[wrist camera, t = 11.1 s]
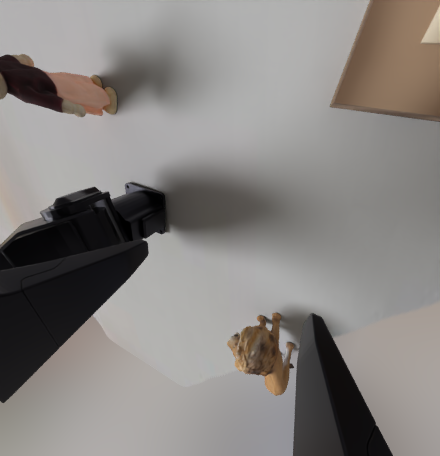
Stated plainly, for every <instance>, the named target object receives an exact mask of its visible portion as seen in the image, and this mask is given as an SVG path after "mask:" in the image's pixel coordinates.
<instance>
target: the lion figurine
mask: <svg viewBox="0 0 440 456" xmlns="http://www.w3.org/2000/svg"><path fill="white" fill-rule="evenodd" d="M272 315H273V317H272V322H273V326H272V330H271V331H269V330H268V329H267V328H266V327H265V326H266V319H265V318H264V317H263V316H261V315H259V316H258V317H257V320H258V321H259V322H260V325H259V326H254V327H251V326H249V327H246V328H244V329H243V330H242V332H241V335H240V334H239V333H237V332H236V333H235V335H234V336H232V337H231V338H230V339H229V341H228V342H227V345H228V346H229V347H230V348H231V350H232V351H233V355H234V357H235V358H236V361H235V367H237V369H238V370H239V371H243V372H244V373H245V374H256V375H263V376H265V385H266V387H267V389H268V390H269V391H270V392H271V393H273V394H274V395H276V396H277V395H281V394H283V393H284V392H285V390H286V388H287V385H288V380H289V368H294V366H293V365H292V364H290V363H289V362H290V358H291V352H292V349H293V348H294V345H293V344H292V343H290V342H287V343H286V354H285V361H284V362H283V361H282V356H281V352H280V350H279V323H280V319H281V315H280V314H278V313H273V314H272Z"/></svg>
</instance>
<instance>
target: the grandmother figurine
mask: <svg viewBox="0 0 440 456" xmlns="http://www.w3.org/2000/svg"><path fill="white" fill-rule="evenodd" d="M7 93H9V94H12V95H13V96H15V97H17V98H19V99H20V100H22V101H24V102H26V103H31V104H35V105H38V106H42V107H45V108H49V109H52V110H54V111H57V112H62V113H68V114H75V115H76V116H78V117H84V116H85V114H86V113H88V114H93V115H99V116H102V115H103V112H102V109H103V110H105V111H106V112H107V113H109V114H115V113H116V110H117V95H116V92H115V91H114V89H112V88H111V87H106V88H105V89H104V90H103V89H102V83H101V80H100V79H99V78H98V77H97V76H96V75H93V76H91V77H90V78H89V77H87V76H82V75H76V74H70V73H64V72H60V73H48V72H45V71H42V70H40V69H38V68H36V67H34V63H33V61H32V59H31V58H30V57H29V56H27V55H25V54H21V55H19V56H18V55H4V56H2V57H0V99H3V98H4V97H5V96H6V94H7Z"/></svg>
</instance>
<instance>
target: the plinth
mask: <svg viewBox="0 0 440 456" xmlns="http://www.w3.org/2000/svg"><path fill="white" fill-rule="evenodd" d="M330 107H333V108H341V109H348V110H356V111H363V112H371V113H378V114H386V115H393V116H401V117H408V118H416V119H423V120H431V121H438V122H440V0H370V2H369V4H368V7H367V10H366V12H365V15H364V18H363V20H362V23H361V25H360V28H359V31H358V33H357V36H356V39H355V41H354V44H353V46H352V49H351V52H350V54H349V57H348V60H347V62H346V65H345V68H344V70H343V73H342V75H341V78H340V81H339V83H338V86H337V89H336V91H335V94H334V96H333V99H332V102H331V104H330Z"/></svg>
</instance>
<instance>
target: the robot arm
mask: <svg viewBox="0 0 440 456" xmlns="http://www.w3.org/2000/svg"><path fill="white" fill-rule="evenodd" d="M125 189H126V194H125V195H122V196H120V197H117V198H114V199H112V200H111V198H110V194H109V192H101V191H99V190H98V189H97V188H96V187H91V188H88V189H84V190H81V191H77V192H74V193H71V194H68V195H65V196H62V197H59V198H57V199H56V200H55V202H54V204H53V205H51V206H49V207H48V208H47V209H45V210H43V211H41V212H40V214H41V215H42V218H39V219H36V220H33V221H29V222H26V223H24V224H22V225H20V226H19V227H18V228H17V229H16V230H15V231H14V232H13V233H12V234H11V235H10V236H9V237H8V238H7V239H6V240H5V241H4V242H3V243H2V244H1V245H0V401H1V402H2V403H4V402H5V401H6V400H8V399H9V398H10V397H11V396H12V395H13V394H14V393H15V392H16V391H17V390H18V389H19V388H20V387H21V386H22V385H23V384H24V383H25V382H26V381H27V380H28V379H29V378H30V377H31V376H32V375H33V374H34V373H35V372H36V371H37V370H38V369H39V368H40V367H41V366H42V365H43V364H44V363H45V362H46V361H47V360H48V359H49V358H50V357H51V356H52V355H53V354H54V353H55V352H56V351H57V350H58V349H59V347H61V346H62V345H63V344H64V343H65V342H66V341H67V340H68V339H69V338H70V337H71V336H72V335H73V334H74V333H75V332H76V331H77V330H78V329H79V328H80V327H81V326H82V325H83V324H84V323H85V322H86V321H87V320H88V319H89V318H90V317H91V316H92V315H93V314H94V313H95V312H96V311H97V310H98V309H99V308H100V307H101V306H102V305H103V304H104V303H105V302H106V301H107V300H108V299H109V298H110V297H111V296H112V295H113V294H114V293H115V292H116V291H117V290H118V289H119V288H120V287H121V286H122V285H123V284H124V283H125V282H126V281H127V280H128V279H129V278H130V277H131V275H132V274H133V273H134V272H135V271H136V269H137V268H138V267H139V266H140V265H141V263H142V262H143V261H144V260H145V258H146V257H147V256H148V243H147V242H146V241H144V240H142V239H143V238H145V239H146V238H148V237H149V236H150V235H152V234H153V233H155V232H157V233H160V234H164V233H165V196H164V194H163V193H160V192H157V191H154V190H151V189H148V188H145V187H141V186H138V185H135V184H132V183H126V184H125ZM160 196H161V197H160ZM293 456H393V455H392V453H391V451H390V449H389V447H388V445H387V443H386V441H385V440H384V438H383V436H382V434H381V432H380V430H379V428H378V426H376V422H375V420H374V418H373V416H372V414H371V412H370V410H369V408H368V406H367V405H366V403H365V401H364V399H363V397H362V395H361V393H360V391H359V389H358V387H357V385H356V383H355V381H354V379H353V377H352V375H351V373H350V371H349V369H348V368H347V365H346V363H345V362H344V359H343V358H342V356H341V354H340V352H339V350H338V348H337V346H336V344H335V342H334V340H333V338H332V336H331V334H330V332H329V330H328V328H327V326H326V324H325V322H324V320H323V319H322V317H320V316H318V315H316V314H314V313H311V314H310V315H309V317H308V318H307V320H306V321H305V323H304V325H303V329H302V335H301V341H300V348H299V354H298V361H297V376H296V400H295V422H294V446H293Z"/></svg>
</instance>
